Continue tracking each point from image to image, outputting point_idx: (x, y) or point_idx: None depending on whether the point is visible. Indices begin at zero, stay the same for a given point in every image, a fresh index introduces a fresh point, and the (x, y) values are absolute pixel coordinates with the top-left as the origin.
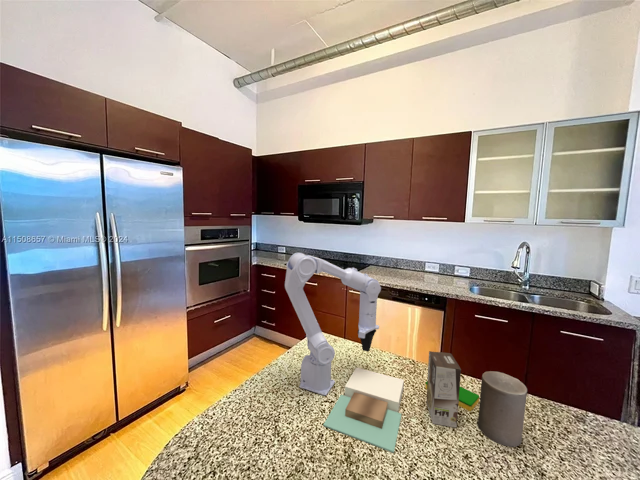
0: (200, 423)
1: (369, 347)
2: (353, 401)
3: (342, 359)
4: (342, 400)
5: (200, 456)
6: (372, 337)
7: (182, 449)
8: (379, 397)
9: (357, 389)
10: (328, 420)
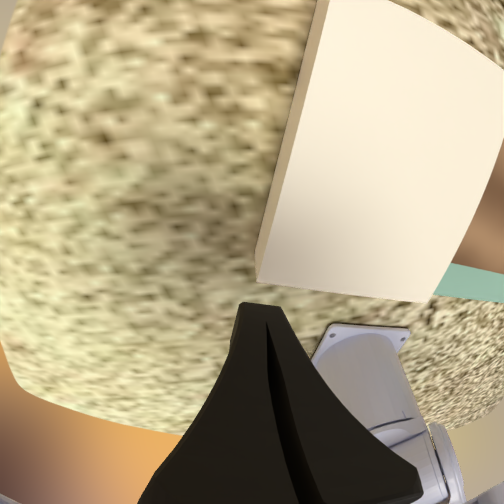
0: None
1: (297, 339)
2: (490, 258)
3: (131, 320)
4: (440, 281)
5: (489, 400)
6: (338, 448)
7: (474, 416)
8: (494, 160)
9: (450, 256)
10: (498, 296)
